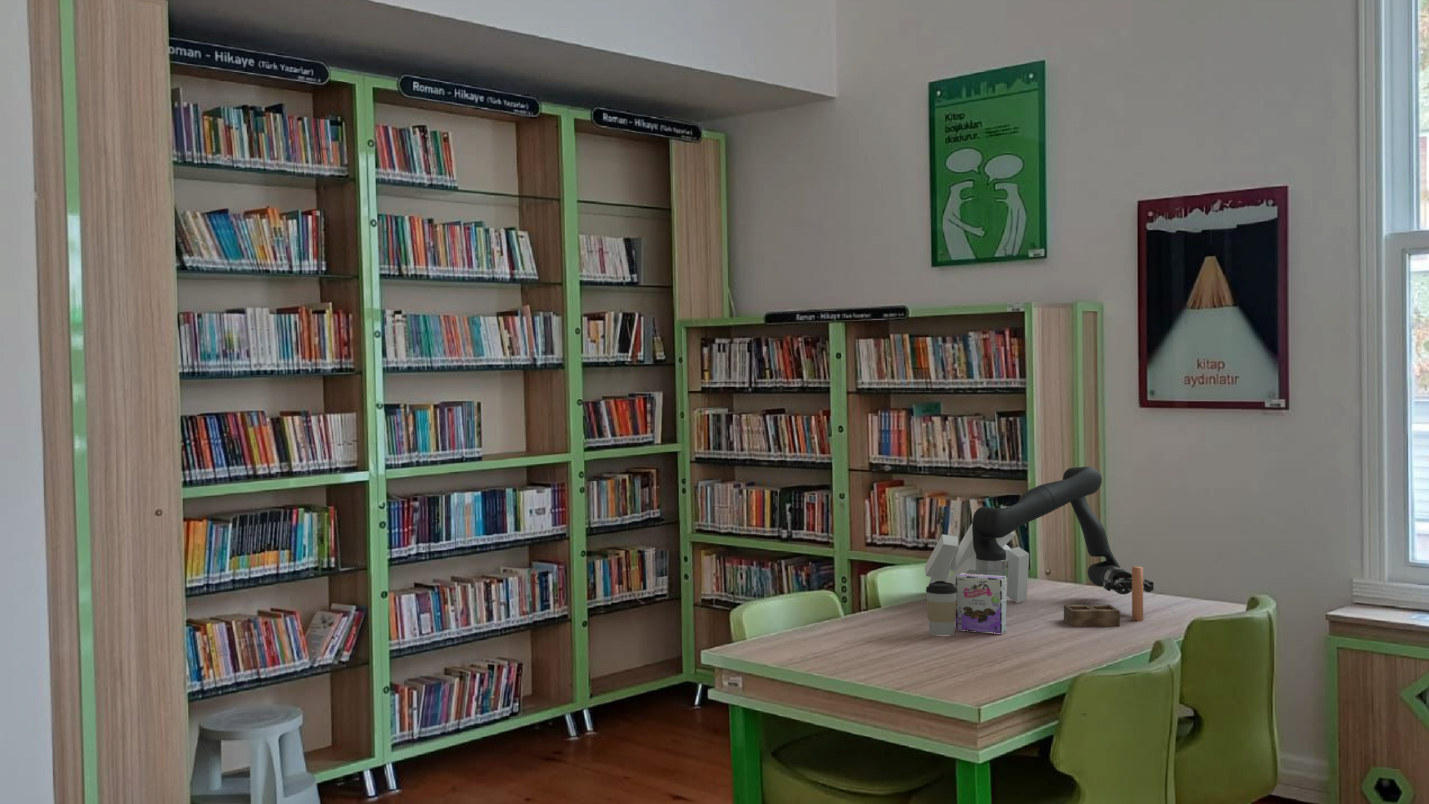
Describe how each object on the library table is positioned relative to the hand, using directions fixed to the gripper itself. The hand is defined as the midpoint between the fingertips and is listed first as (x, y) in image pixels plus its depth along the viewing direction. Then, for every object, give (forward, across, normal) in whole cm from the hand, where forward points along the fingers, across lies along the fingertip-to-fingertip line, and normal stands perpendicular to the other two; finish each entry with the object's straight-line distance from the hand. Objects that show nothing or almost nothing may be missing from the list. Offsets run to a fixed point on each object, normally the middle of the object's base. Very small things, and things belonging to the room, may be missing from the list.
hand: (1135, 589), depth 382 cm
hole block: (+6, -15, +9) cm, 18 cm away
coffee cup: (+21, -62, +9) cm, 66 cm away
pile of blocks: (-31, -43, +9) cm, 54 cm away
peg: (+2, 0, +9) cm, 9 cm away
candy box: (+17, -50, +9) cm, 54 cm away
